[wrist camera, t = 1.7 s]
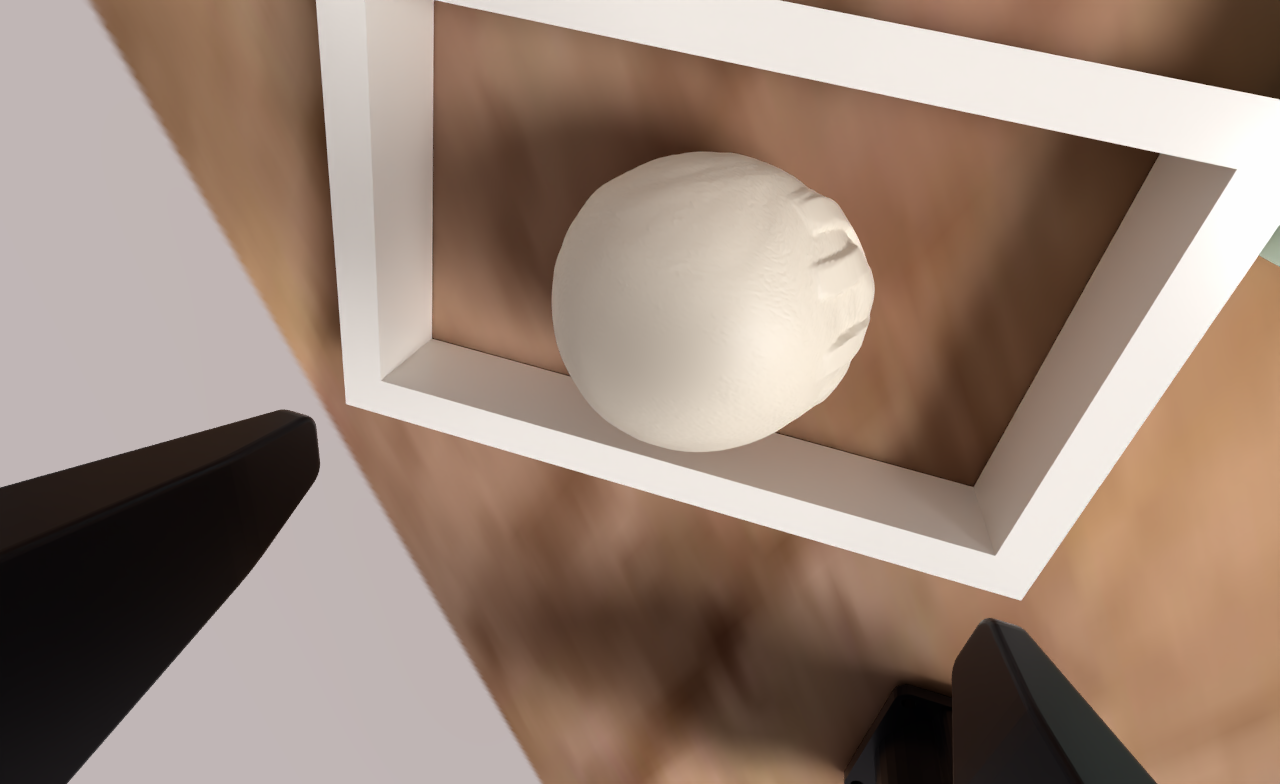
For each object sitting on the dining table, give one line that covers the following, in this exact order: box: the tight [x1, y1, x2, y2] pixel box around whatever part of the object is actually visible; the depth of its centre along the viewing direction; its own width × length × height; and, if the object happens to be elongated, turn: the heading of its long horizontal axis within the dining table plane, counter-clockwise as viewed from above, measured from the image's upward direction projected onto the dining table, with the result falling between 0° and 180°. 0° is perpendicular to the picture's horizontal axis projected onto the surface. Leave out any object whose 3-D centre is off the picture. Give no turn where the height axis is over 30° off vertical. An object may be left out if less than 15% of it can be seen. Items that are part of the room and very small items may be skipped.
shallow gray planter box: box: [316, 0, 1280, 600], centre depth 17 cm, size 12×20×3 cm, turn 79°
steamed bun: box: [552, 151, 875, 452], centre depth 16 cm, size 7×7×7 cm
